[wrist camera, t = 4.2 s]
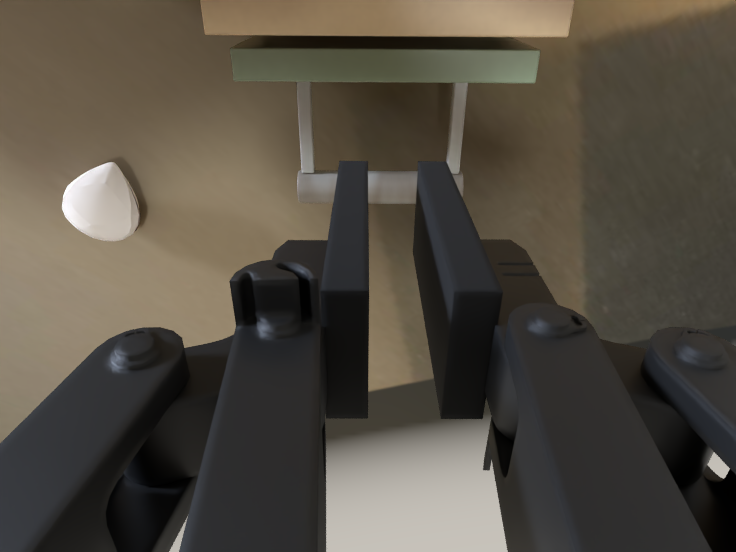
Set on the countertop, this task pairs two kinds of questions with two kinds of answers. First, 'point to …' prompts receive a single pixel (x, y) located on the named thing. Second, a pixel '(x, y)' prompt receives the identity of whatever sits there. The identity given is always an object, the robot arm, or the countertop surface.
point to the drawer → (381, 64)
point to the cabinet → (389, 18)
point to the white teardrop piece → (102, 204)
